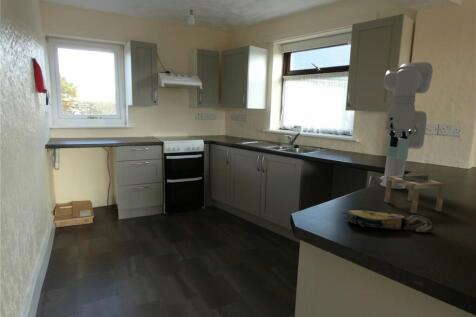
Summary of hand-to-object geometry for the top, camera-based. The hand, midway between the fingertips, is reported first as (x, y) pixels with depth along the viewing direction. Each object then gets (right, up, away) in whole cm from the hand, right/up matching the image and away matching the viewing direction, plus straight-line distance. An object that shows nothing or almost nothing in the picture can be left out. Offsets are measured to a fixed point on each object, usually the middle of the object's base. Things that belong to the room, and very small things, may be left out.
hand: (397, 146), depth 122 cm
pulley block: (-13, -30, -16) cm, 36 cm away
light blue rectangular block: (0, -5, +1) cm, 5 cm away
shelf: (+11, -26, +10) cm, 30 cm away
